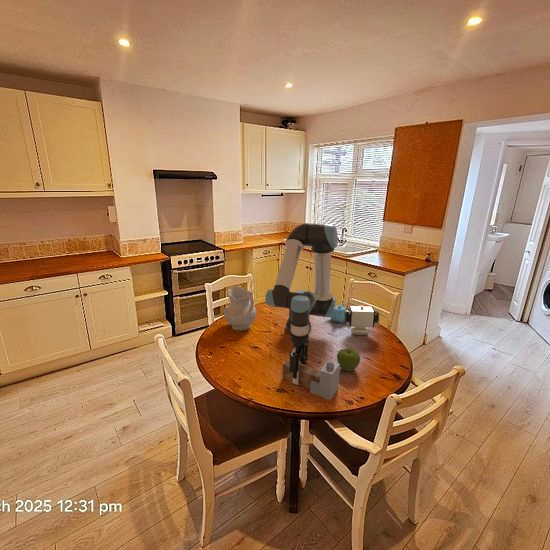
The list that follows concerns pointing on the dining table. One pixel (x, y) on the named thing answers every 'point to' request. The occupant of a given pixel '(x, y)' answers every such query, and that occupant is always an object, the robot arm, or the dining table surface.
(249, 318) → the ceramic pitcher
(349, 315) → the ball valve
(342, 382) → the dining table surface
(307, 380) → the rail
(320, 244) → the robot arm
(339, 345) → the dining table surface
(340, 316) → the teapot
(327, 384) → the grey two-prong block
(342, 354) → the apple
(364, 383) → the dining table surface
